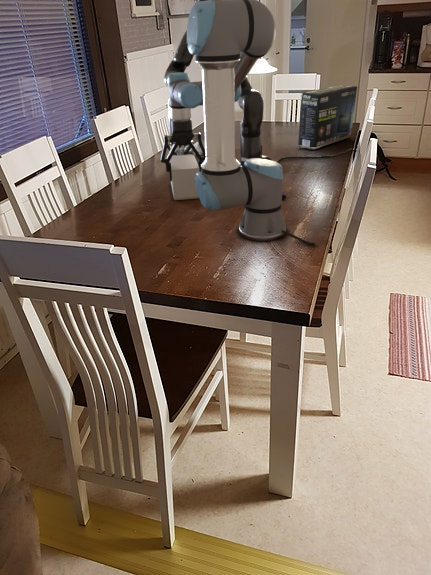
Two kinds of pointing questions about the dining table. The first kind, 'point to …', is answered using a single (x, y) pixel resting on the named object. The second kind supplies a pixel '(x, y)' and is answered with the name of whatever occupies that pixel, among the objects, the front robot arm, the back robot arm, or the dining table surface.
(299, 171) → the dining table surface
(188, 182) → the white box
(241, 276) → the dining table surface
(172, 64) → the back robot arm
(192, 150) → the fossil
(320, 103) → the router box
